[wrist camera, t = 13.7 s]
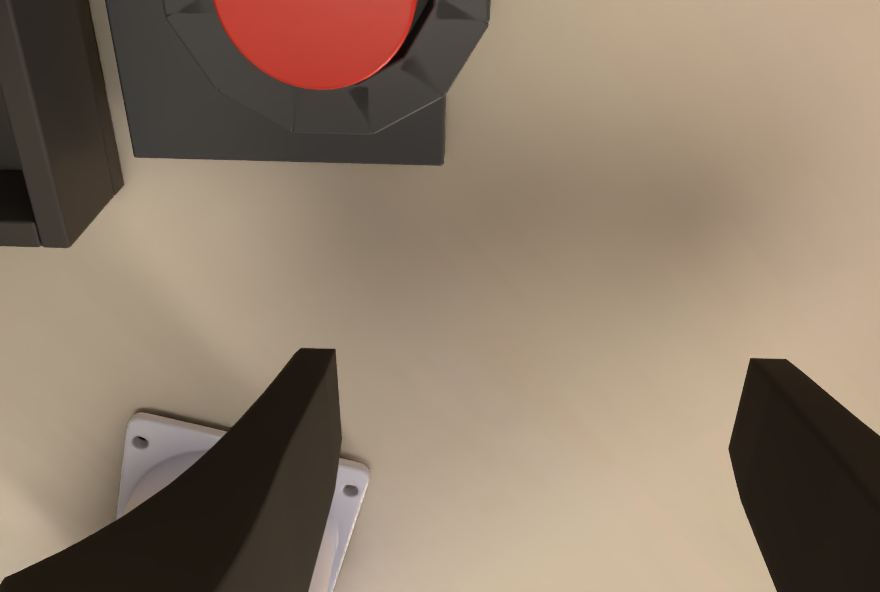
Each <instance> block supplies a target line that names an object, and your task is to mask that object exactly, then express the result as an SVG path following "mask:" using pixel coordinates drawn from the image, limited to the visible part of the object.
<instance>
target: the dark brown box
mask: <svg viewBox="0 0 880 592" xmlns="http://www.w3.org/2000/svg"><path fill="white" fill-rule="evenodd" d="M123 185H124V184H123V179H122V174H121V169H120V164H119V158H118V153H117V148H116V143H115V138H114V133H113V128H112V123H111V118H110V113H109V108H108V103H107V98H106V92H105V87H104V82H103V77H102V72H101V67H100V62H99V57H98V52H97V47H96V42H95V37H94V31H93V26H92V21H91V16H90V11H89V6H88V1H87V0H0V246H17V247H40V246H43V247H52V248H69V247H71V246H72V244H73V243H74V242H75V241H76V240H77V239H78V237H79V236H80V235H81V234H82V233H83V232H84V230H85V229H86V228H87V227H88V226H89V225H90V223H91V222H92V221H93V220H94V219H95V218H96V216H97V215H98V214H99V213H100V212H101V211H102V209H103V208H104V207H105V206H106V205H107V203H108V202H109V201H110V200H111V199H112V198H113V196H114V195H116V194H117V193H118V191H119V190H120V189H121V188H122V187H123Z"/></svg>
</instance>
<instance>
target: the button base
mask: <svg viewBox="0 0 880 592" xmlns="http://www.w3.org/2000/svg"><path fill="white" fill-rule="evenodd" d="M105 3H106V8H107V13H108V19H109V24H110V30H111V35H112V40H113V46H114V51H115V56H116V62H117V67H118V73H119V78H120V83H121V89H122V94H123V99H124V105H125V110H126V115H127V121H128V126H129V132H130V137H131V142H132V148H133V153H134V156H135V157H137V158H175V159H213V160H250V161H288V162H326V163H363V164H401V165H438V166H441V165H443V163H444V153H445V109H446V93H447V92H448V90H449V88H450V87H451V85H452V84H453V82H454V80H455V79H456V77H457V75H458V74H459V72H460V71H461V69H462V67H463V66H464V64H465V63H466V61H467V59H468V58H469V56H470V54H471V53H472V51H473V50H474V48H475V46H476V45H477V43H478V42H479V40H480V38H481V37H482V35H483V33H484V32H485V30H486V29H487V27H488V22H489V19H490V0H418V2H417V6H416V10H415V14H414V18H413V21H412V24H411V27H410V30H409V32H408V34H407V36H406V38H405V41H404V43H403V44H402V46H401V47H400V49H399V50H398V52H397V53H396V54H395V55H394V57H393V58H392V59H391V60H390V61H389V62H388V63H387V64H386V65H385V66H384V67H383V68H381V69H380V70H379V71H378V72H376V73H375V74H373V75H372V76H370V77H369V78H367V79H365V80H363V81H360V82H358V83H356V84H353V85H350V86H347V87H343V88H337V89H327V90H316V89H306V88H301V87H297V86H293V85H290V84H287V83H284V82H281V81H279V80H277V79H275V78H273V77H271V76H269V75H268V74H266V73H265V72H263V71H262V70H260V69H259V68H257V67H256V66H255V65H254V64H252V63H251V62H250V61H249V60H248V59H247V58H246V57H245V56H244V55H243V54H242V53H241V52H240V51H239V50H238V49H237V47H236V46H235V45H234V43H233V42H232V41H231V40H230V38H229V36H228V35H227V33H226V31H225V30H224V28H223V26H222V24H221V22H220V20H219V17H218V15H217V13H216V10H215V6H214V3H213V0H105Z"/></svg>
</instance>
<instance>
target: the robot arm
mask: <svg viewBox="0 0 880 592" xmlns="http://www.w3.org/2000/svg"><path fill="white" fill-rule="evenodd" d="M137 436H138V437H143V438H145V439H146V440H147V441H144V440H141V439H139V438H138V437H137ZM341 442H342V435H341V420H340V406H339V392H338V378H337V364H336V350H335V349H315V348H301V349H299V350H298V351H297V352H296V353H295V354H294V355H293V357H292V358H291V359H290V361H289V362H288V363H287V364H286V366H285V367H284V368H283V369H282V371H281V372H280V373H279V374H278V376H277V377H276V378H275V379H274V381H273V382H272V383H271V384H270V385H269V387H268V388H267V389H266V390H265V391H264V393H263V394H262V395H261V396H260V397H259V398H258V399H257V401H256V402H255V403H254V404H253V405H252V406H251V407H250V408H249V409H248V411H247V412H246V413H245V414H244V415H243V416H242V417H241V418H240V419H239V421H238V422H237V423H236V424H235V425H234V426H233V427H232V428H231V429H230V430H229V431H228V432H227V431H223V430H218V429H214V428H210V427H206V426H201V425H197V424H193V423H188V422H184V421H180V420H175V419H171V418H167V417H163V416H158V415H154V414H150V413H143V412H140V413H136V414H134V415H133V416H132V417H131V418H130V420H129V422H128V424H127V427H126V436H125V444H124V453H123V462H122V471H121V480H120V489H119V497H118V506H117V515H116V521H114V522H112V523H111V524H109V525H108V526H106V527H104V528H103V529H101V530H99V531H97V532H96V533H94V534H92V535H90V536H89V537H87V538H85V539H83V540H81V541H80V542H78V543H76V544H74V545H72V546H70V547H68V548H66V549H65V550H63V551H61V552H59V553H56V554H54V555H52V556H50V557H48V558H46V559H44V560H42V561H40V562H38V563H36V564H33V565H31V566H29V567H27V568H25V569H23V570H21V571H19V572H17V573H14V574H12V575H10V576H7V577H5V578H4V580H3V581H2V583H1V584H0V592H333V590H334V587H335V584H336V580H337V577H338V574H339V571H340V568H341V565H342V562H343V559H344V556H345V553H346V550H347V547H348V544H349V541H350V538H351V535H352V532H353V528H354V525H355V522H356V519H357V516H358V513H359V510H360V507H361V504H362V501H363V498H364V495H365V492H366V489H367V486H368V483H369V476H370V471H369V469H368V467H366V466H365V465H364V464H362V463H359V462H356V461H352V460H347V459H343V458H339V457H340V449H341ZM728 449H729V453H730V458H731V462H732V467H733V471H734V476H735V480H736V483H737V487H738V491H739V495H740V499H741V502H742V505H743V507H744V510H745V513H746V515H747V518H748V520H749V523H750V525H751V528H752V530H753V533H754V536H755V538H756V541H757V543H758V546H759V548H760V551H761V553H762V556H763V558H764V560H765V563H766V565H767V568H768V570H769V573H770V575H771V578H772V580H773V583H774V585H775V588H776V590H777V592H880V436H879V435H878V434H877V433H875V432H874V431H873V430H872V429H870V428H869V427H868V426H867V425H865V424H864V423H863V422H862V421H860V420H859V419H858V418H857V417H856V416H854V415H853V414H852V413H851V412H850V411H848V410H847V409H846V408H845V407H843V406H842V405H841V404H840V403H839V402H838V401H836V400H835V399H834V398H833V397H832V396H830V395H829V394H828V393H827V392H826V391H825V390H823V389H822V388H821V387H820V386H819V385H817V384H816V383H815V382H814V381H813V380H811V379H810V378H809V377H808V376H807V375H806V374H804V373H803V372H802V371H801V370H799V369H798V368H797V367H796V366H794V365H793V364H792V363H790V362H789V361H788V360H786V359H759V358H750V362H749V366H748V370H747V374H746V378H745V382H744V386H743V391H742V395H741V399H740V403H739V407H738V411H737V415H736V420H735V424H734V428H733V432H732V436H731V440H730V444H729V448H728ZM346 485H353V486H355V488H349V487H347V486H346Z"/></svg>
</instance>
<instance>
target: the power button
mask: <svg viewBox="0 0 880 592" xmlns="http://www.w3.org/2000/svg"><path fill="white" fill-rule="evenodd" d="M417 2H418V0H213V3H214V6H215V10H216V13H217V15H218V17H219V20H220V22H221V24H222V26H223V28H224V30H225V31H226V33H227V35H228V36H229V38H230V40H231V41H232V42H233V43H234V45H235V46H236V47H237V49H238V50H239V51H240V52H241V53H242V54H243V55H244V56H245V57H246V58H247V59H248V60H249V61H250V62H251V63H252V64H254V65H255V66H256V67H257V68H259V69H260V70H262V71H263V72H265V73H266V74H268V75H269V76H271V77H273V78H275V79H277V80H279V81H281V82H284V83H287V84H290V85H293V86H297V87H301V88H306V89H316V90H327V89H337V88H343V87H347V86H350V85H353V84H356V83H358V82H360V81H363V80H365V79H367V78H369V77H370V76H372V75H373V74H375V73H376V72H378V71H379V70H380V69H381V68H383V67H384V66H385V65H386V64H387V63H388V62H389V61H390V60H391V59H392V58H393V57H394V55H395V54H396V53H397V52H398V50H399V49H400V47H401V46H402V44H403V43H404V41H405V38H406V36H407V34H408V32H409V30H410V27H411V24H412V21H413V18H414V14H415V10H416V6H417Z"/></svg>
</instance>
